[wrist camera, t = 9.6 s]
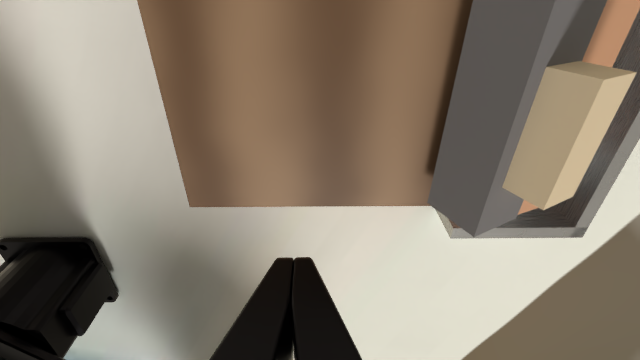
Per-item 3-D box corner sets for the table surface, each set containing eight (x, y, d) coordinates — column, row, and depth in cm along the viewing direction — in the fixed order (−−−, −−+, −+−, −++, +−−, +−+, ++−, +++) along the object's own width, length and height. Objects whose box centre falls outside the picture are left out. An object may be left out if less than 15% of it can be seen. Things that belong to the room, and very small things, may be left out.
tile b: (561, 99, 13) (600, 92, 14) (609, -17, 11) (651, -17, 12) (482, 75, 16) (518, 70, 17) (508, -20, 14) (547, -20, 15)
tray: (434, 208, 23) (450, 238, 20) (515, -122, 14) (562, -143, 11) (552, 207, 23) (582, 237, 20) (710, -119, 14) (800, -140, 11)
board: (204, 178, 21) (189, 207, 18) (156, -52, 15) (122, -57, 12) (437, 177, 21) (454, 205, 19) (490, -48, 15) (527, -52, 12)
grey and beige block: (427, 202, 17) (509, 263, 14) (477, -20, 12) (633, -16, 8) (467, 188, 18) (552, 240, 15) (529, -20, 13) (685, -17, 10)
